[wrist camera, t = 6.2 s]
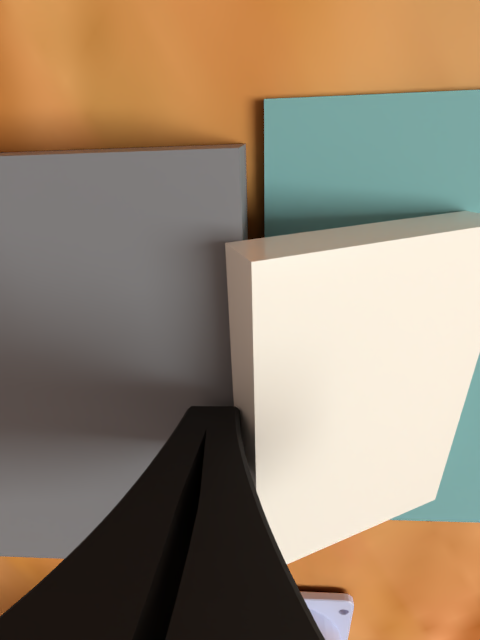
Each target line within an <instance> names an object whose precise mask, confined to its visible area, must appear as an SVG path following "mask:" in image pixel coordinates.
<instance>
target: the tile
mask: <svg viewBox="0 0 480 640" xmlns="http://www.w3.org/2000/svg"><path fill="white" fill-rule="evenodd" d="M225 251H226V270H227V288H228V307H229V326H230V344H231V363H232V381H233V400H234V406H236V407H237V408H238V409H239V410H240V418H241V436H242V441H243V446H244V451H245V455H246V458H247V462H248V465H249V469H250V473H251V476H252V479H253V482H254V485H255V488H256V491H257V494H258V497H259V500H260V503H261V505H262V508H263V511H264V513H265V516H266V518H267V521H268V523H269V526H270V528H271V531H272V533H273V535H274V538H275V540H276V542H277V545H278V547H279V549H280V551H281V553H282V556H283V558H284V560H285V562H286V564H289V563H291V562H293V561H296V560H298V559H300V558H302V557H305V556H307V555H309V554H312V553H314V552H316V551H318V550H321V549H323V548H325V547H328V546H330V545H332V544H334V543H337V542H339V541H341V540H344V539H346V538H348V537H351V536H353V535H355V534H357V533H360V532H362V531H364V530H367V529H369V528H371V527H373V526H376V525H378V524H380V523H383V522H385V521H387V520H389V519H392V518H394V517H396V516H399V515H401V514H403V513H405V512H408V511H410V510H412V509H415V508H417V507H419V506H421V505H424V504H426V503H428V502H431V501H433V500H435V498H436V495H437V492H438V488H439V485H440V482H441V478H442V475H443V472H444V469H445V465H446V462H447V459H448V455H449V452H450V449H451V445H452V442H453V439H454V436H455V432H456V429H457V426H458V422H459V419H460V416H461V412H462V409H463V406H464V403H465V399H466V396H467V393H468V389H469V386H470V383H471V379H472V376H473V373H474V369H475V366H476V363H477V360H478V356H479V353H480V213H475V212H470V211H460V212H452V213H445V214H437V215H430V216H422V217H415V218H407V219H400V220H392V221H385V222H377V223H370V224H362V225H355V226H347V227H340V228H332V229H325V230H317V231H310V232H302V233H295V234H288V235H280V236H273V237H265V238H258V239H250V240H243V241H235V242H228V243H225Z"/></svg>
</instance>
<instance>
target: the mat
mask: <svg viewBox="0 0 480 640" xmlns="http://www.w3.org/2000/svg"><path fill="white" fill-rule="evenodd" d="M460 211H470V212H475V213H480V90H461V91H438V92H415V93H392V94H369V95H346V96H323V97H300V98H277V99H264V230H265V237H273V236H280V235H288V234H295V233H302V232H310V231H317V230H325V229H332V228H340V227H347V226H355V225H362V224H370V223H377V222H385V221H392V220H400V219H407V218H415V217H422V216H430V215H437V214H445V213H452V212H460ZM389 520H414V521H448V522H480V353H479V356H478V360H477V363H476V366H475V369H474V373H473V376H472V379H471V383H470V386H469V389H468V393H467V396H466V399H465V403H464V406H463V409H462V412H461V416H460V419H459V422H458V426H457V429H456V432H455V436H454V439H453V442H452V445H451V449H450V452H449V455H448V459H447V462H446V465H445V469H444V472H443V475H442V478H441V482H440V485H439V488H438V492H437V495H436V498H435V500H433V501H431V502H428V503H426V504H424V505H421V506H419V507H417V508H415V509H412V510H410V511H408V512H405V513H403V514H401V515H399V516H396V517H394V518H392V519H389Z"/></svg>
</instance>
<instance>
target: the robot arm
mask: <svg viewBox="0 0 480 640" xmlns="http://www.w3.org/2000/svg"><path fill="white" fill-rule="evenodd" d="M353 609H354V603H353V598H352V596H350V595H349V594H345V593H326V592H303V591H299V589H298V587H297V585H296V583H295V581H294V579H293V577H292V575H291V573H290V571H289V569H288V566H287V564H286V562H285V560H284V558H283V556H282V553H281V551H280V549H279V547H278V545H277V542H276V540H275V538H274V535H273V533H272V531H271V528H270V526H269V523H268V521H267V518H266V516H265V513H264V511H263V508H262V505H261V503H260V500H259V497H258V494H257V491H256V488H255V485H254V482H253V479H252V476H251V473H250V469H249V465H248V462H247V458H246V455H245V451H244V446H243V441H242V436H241V418H240V410H239V409H238V408H237V407H236V406H191V407H190V408H188V409H187V411H186V412H185V414H184V416H183V417H182V419H181V420H180V422H179V424H178V425H177V427H176V428H175V430H174V431H173V433H172V434H171V436H170V437H169V439H168V440H167V441H166V443H165V444H164V446H163V447H162V448H161V450H160V451H159V452H158V454H157V455H156V457H155V458H154V459H153V461H152V462H151V463H150V465H149V466H148V467H147V469H146V470H145V471H144V472H143V474H142V475H141V476H140V477H139V479H138V480H137V481H136V482H135V483H134V485H133V486H132V487H131V488H130V490H129V491H128V492H127V493H126V494H125V496H124V497H123V498H122V499H121V500H120V502H119V503H118V504H117V505H116V506H115V507H114V508H113V510H112V511H111V512H110V513H109V514H108V515H107V516H106V517H105V518H104V519H103V521H102V522H101V523H100V524H99V525H98V526H97V527H96V528H95V529H94V530H93V531H92V532H91V533H90V534H89V535H88V536H87V537H86V538H85V539H84V540H83V541H82V542H81V543H80V544H79V545H78V546H77V547H76V548H75V549H74V550H73V551H72V552H71V553H70V554H69V555H68V556H67V557H66V558H65V559H64V560H63V561H62V562H61V563H60V564H59V565H58V566H57V567H56V568H55V569H54V570H53V571H51V572H50V573H49V574H48V575H47V576H46V577H45V578H44V579H43V580H42V581H41V582H40V583H38V584H37V585H36V586H35V587H34V588H33V589H32V590H31V591H29V592H28V593H27V594H26V595H25V596H24V597H22V598H21V599H20V600H19V601H18V602H17V603H15V604H14V605H13V606H12V607H11V608H10V609H8V610H7V611H6V612H5V613H4V614H3V615H1V616H0V640H348V635H349V630H350V625H351V620H352V615H353Z"/></svg>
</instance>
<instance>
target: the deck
mask: <svg viewBox="0 0 480 640" xmlns="http://www.w3.org/2000/svg"><path fill="white" fill-rule="evenodd" d="M243 240H248V220H247V179H246V144H224V145H196V146H168V147H141V148H113V149H85V150H57V151H29V152H1V153H0V556H10V557H36V558H62V559H65V558H66V557H67V556H68V555H69V554H70V553H71V552H72V551H73V550H74V549H75V548H76V547H77V546H78V545H79V544H80V543H81V542H82V541H83V540H84V539H85V538H86V537H87V536H88V535H89V534H90V533H91V532H92V531H93V530H94V529H95V528H96V527H97V526H98V525H99V524H100V523H101V522H102V521H103V519H104V518H105V517H106V516H107V515H108V514H109V513H110V512H111V511H112V510H113V508H114V507H115V506H116V505H117V504H118V503H119V502H120V500H121V499H122V498H123V497H124V496H125V494H126V493H127V492H128V491H129V490H130V488H131V487H132V486H133V485H134V483H135V482H136V481H137V480H138V479H139V477H140V476H141V475H142V474H143V472H144V471H145V470H146V469H147V467H148V466H149V465H150V463H151V462H152V461H153V459H154V458H155V457H156V455H157V454H158V452H159V451H160V450H161V448H162V447H163V446H164V444H165V443H166V441H167V440H168V439H169V437H170V436H171V434H172V433H173V431H174V430H175V428H176V427H177V425H178V424H179V422H180V420H181V419H182V417H183V416H184V414H185V412H186V411H187V409H188V408H190V407H191V406H234V400H233V381H232V363H231V344H230V326H229V307H228V288H227V270H226V251H225V243H228V242H235V241H243Z"/></svg>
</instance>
